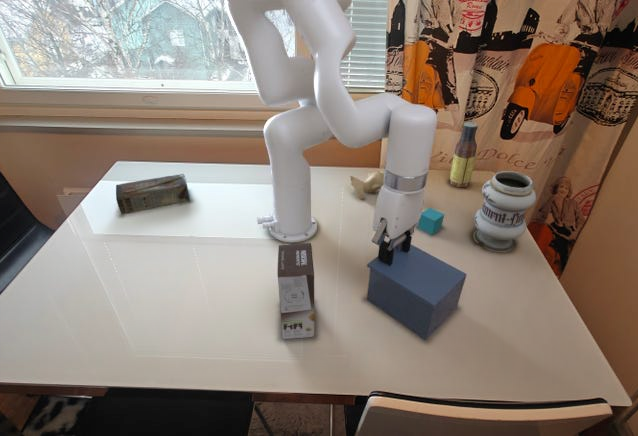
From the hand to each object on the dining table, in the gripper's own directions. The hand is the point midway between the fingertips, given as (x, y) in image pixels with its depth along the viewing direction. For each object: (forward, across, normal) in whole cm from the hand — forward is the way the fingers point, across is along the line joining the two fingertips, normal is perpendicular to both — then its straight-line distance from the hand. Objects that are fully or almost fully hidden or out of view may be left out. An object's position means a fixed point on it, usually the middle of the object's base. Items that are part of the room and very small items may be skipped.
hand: (393, 254), depth 79 cm
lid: (+1, 0, +6) cm, 6 cm away
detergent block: (+10, -26, -6) cm, 29 cm away
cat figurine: (+10, -28, -29) cm, 42 cm away
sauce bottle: (+10, -54, -13) cm, 56 cm away
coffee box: (+10, +20, -8) cm, 24 cm away
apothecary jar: (+10, -34, +8) cm, 36 cm away
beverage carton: (+10, +20, -69) cm, 73 cm away
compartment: (+10, 0, +6) cm, 12 cm away
